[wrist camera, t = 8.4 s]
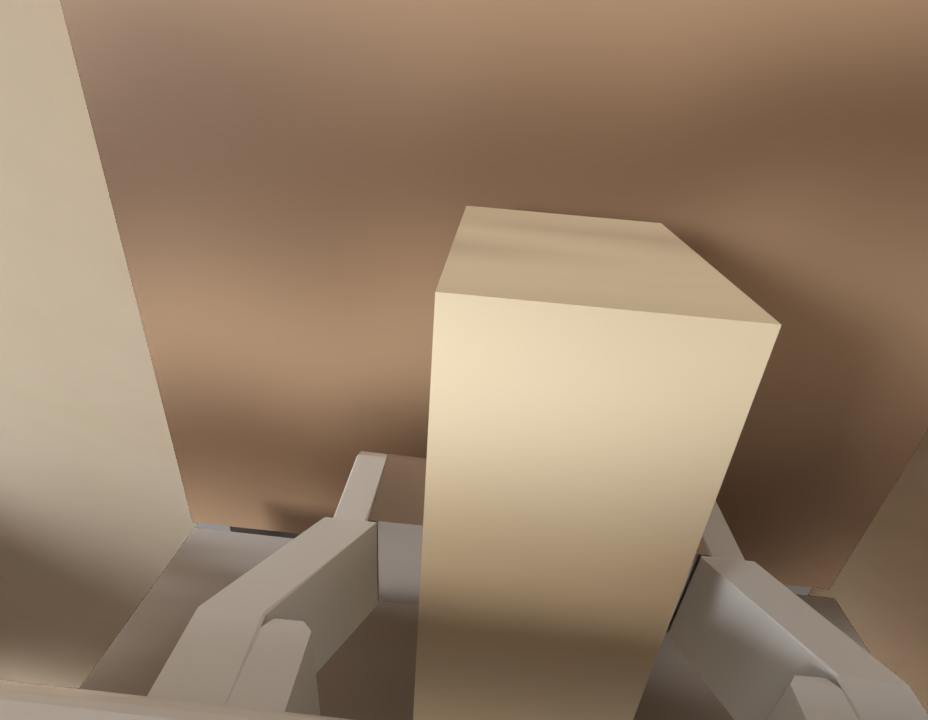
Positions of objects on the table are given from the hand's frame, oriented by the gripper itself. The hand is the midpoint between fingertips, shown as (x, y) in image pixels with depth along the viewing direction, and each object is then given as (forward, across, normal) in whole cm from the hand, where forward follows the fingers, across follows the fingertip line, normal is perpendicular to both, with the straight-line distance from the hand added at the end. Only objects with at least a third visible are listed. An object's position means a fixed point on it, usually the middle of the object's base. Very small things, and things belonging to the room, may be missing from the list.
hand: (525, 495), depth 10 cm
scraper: (+1, 0, 0) cm, 1 cm away
